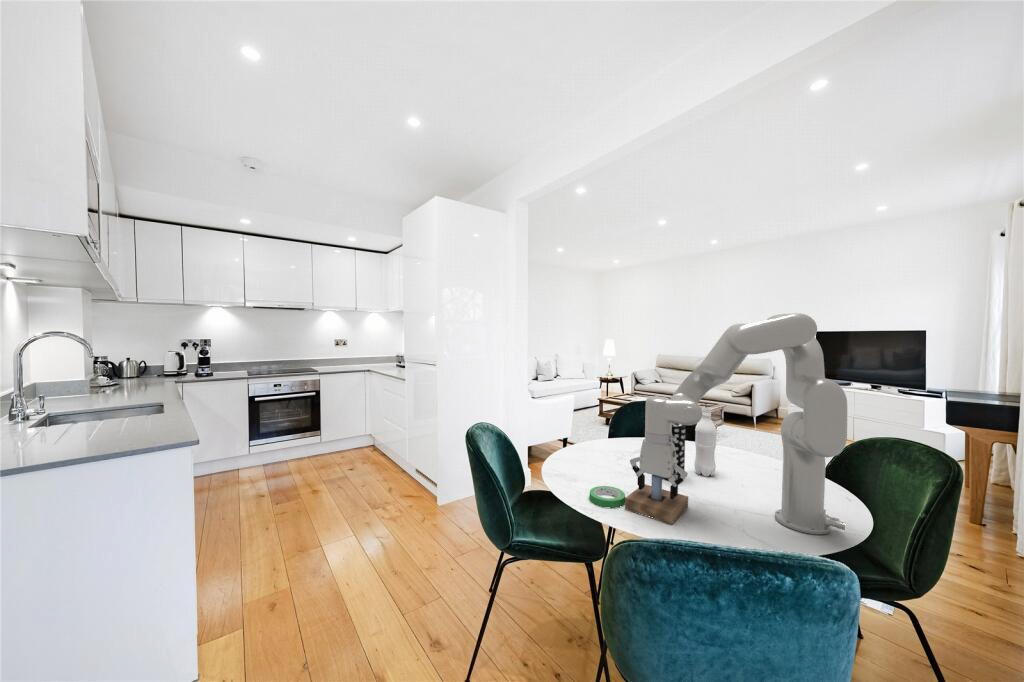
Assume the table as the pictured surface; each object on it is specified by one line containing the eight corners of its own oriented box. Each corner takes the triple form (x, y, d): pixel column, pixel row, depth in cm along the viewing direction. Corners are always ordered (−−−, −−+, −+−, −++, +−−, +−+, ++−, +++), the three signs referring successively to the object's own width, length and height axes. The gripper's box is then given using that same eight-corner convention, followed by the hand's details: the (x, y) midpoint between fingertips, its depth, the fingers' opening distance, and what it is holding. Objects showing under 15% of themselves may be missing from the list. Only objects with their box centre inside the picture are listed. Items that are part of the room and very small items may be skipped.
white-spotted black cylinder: (679, 473, 144) (680, 421, 144) (687, 482, 136) (688, 427, 135) (657, 472, 145) (658, 420, 144) (663, 481, 137) (664, 426, 136)
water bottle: (719, 477, 141) (720, 410, 140) (699, 477, 141) (701, 410, 140) (709, 470, 148) (711, 406, 147) (690, 470, 148) (692, 406, 147)
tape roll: (584, 502, 121) (584, 494, 121) (597, 490, 130) (597, 482, 130) (618, 512, 114) (618, 503, 114) (629, 499, 123) (629, 491, 123)
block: (688, 507, 117) (688, 496, 117) (672, 525, 107) (672, 512, 106) (643, 494, 126) (643, 483, 126) (624, 509, 116) (625, 497, 116)
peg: (663, 508, 117) (663, 476, 116) (659, 511, 114) (660, 478, 114) (653, 505, 119) (653, 473, 118) (649, 508, 116) (650, 476, 116)
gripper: (692, 440, 113) (690, 497, 113) (635, 430, 124) (634, 481, 125) (683, 446, 107) (682, 506, 108) (625, 434, 119) (624, 488, 119)
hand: (656, 493), depth 116 cm, fingers open, 9 cm apart
